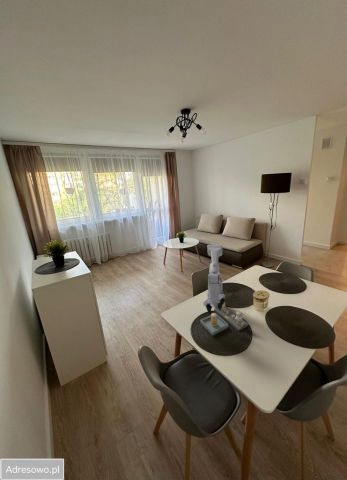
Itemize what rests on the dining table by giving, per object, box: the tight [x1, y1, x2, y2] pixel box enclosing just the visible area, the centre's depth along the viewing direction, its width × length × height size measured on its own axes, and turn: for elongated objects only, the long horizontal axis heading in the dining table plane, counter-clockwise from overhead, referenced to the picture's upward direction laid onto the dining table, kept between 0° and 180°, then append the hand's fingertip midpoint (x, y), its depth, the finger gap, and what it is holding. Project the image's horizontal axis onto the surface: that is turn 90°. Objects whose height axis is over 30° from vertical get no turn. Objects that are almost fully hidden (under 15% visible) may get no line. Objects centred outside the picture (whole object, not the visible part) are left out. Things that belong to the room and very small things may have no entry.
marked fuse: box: [211, 312, 218, 327], centre depth 114 cm, size 4×4×7 cm
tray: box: [199, 314, 230, 337], centre depth 115 cm, size 12×12×2 cm
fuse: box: [235, 310, 243, 325], centre depth 113 cm, size 4×4×7 cm
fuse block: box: [213, 305, 249, 332], centre depth 120 cm, size 22×8×3 cm, turn 27°
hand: (214, 311), depth 114 cm, fingers open, 7 cm apart
